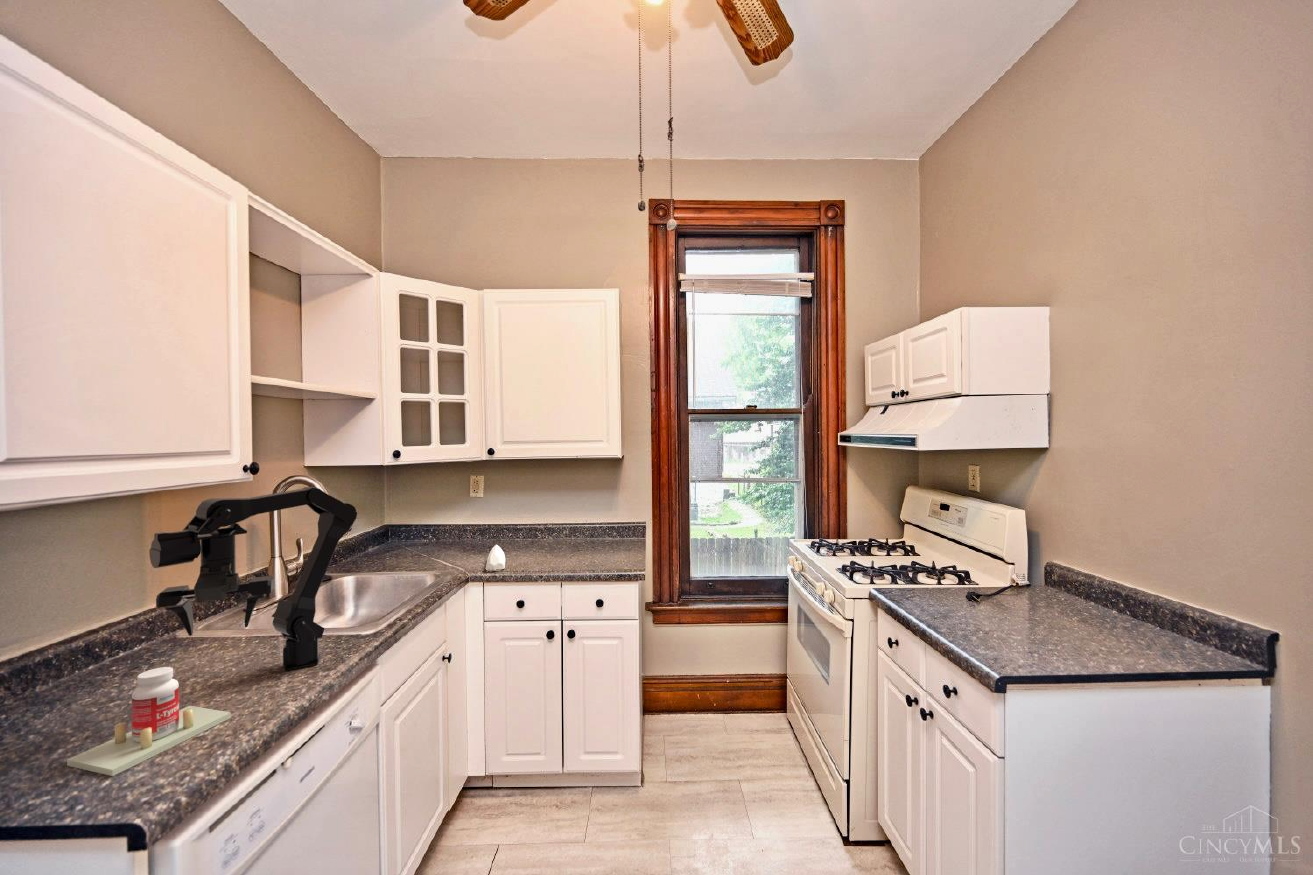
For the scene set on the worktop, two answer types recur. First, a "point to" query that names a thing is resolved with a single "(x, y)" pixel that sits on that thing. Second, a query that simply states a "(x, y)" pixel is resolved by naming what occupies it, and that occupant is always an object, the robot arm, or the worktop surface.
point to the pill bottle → (155, 703)
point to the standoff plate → (144, 742)
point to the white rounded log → (496, 559)
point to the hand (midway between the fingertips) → (219, 630)
